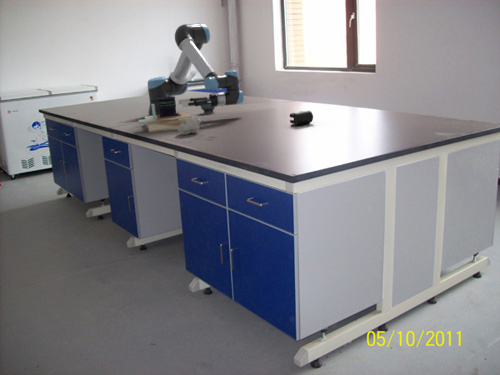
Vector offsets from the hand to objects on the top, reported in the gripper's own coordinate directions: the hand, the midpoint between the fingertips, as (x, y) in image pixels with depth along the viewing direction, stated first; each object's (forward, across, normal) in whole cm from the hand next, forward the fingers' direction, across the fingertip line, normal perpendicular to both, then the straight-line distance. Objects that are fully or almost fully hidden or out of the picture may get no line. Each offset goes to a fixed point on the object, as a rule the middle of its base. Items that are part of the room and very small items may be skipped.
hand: (180, 103), depth 290 cm
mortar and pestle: (-21, +27, -11) cm, 36 cm away
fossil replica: (+2, -39, -11) cm, 40 cm away
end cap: (-53, -51, -11) cm, 75 cm away
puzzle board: (+8, -7, -11) cm, 15 cm away
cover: (+20, -15, -6) cm, 26 cm away
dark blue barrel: (+8, 0, -11) cm, 13 cm away
